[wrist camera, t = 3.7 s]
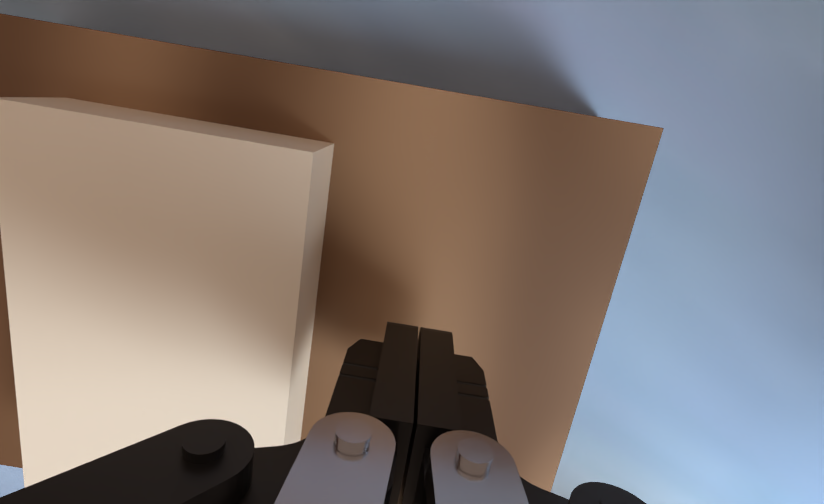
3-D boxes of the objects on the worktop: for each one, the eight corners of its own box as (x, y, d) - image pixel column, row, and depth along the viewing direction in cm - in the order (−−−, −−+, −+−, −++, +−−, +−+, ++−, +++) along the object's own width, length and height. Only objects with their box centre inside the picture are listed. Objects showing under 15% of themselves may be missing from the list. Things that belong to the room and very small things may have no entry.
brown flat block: (601, 120, 14) (663, 128, 10) (510, 454, 18) (531, 550, 14) (59, 27, 14) (-79, -1, 10) (77, 383, 18) (-21, 461, 14)
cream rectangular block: (334, 143, 11) (313, 152, 9) (296, 469, 14) (275, 529, 12) (66, 98, 11) (-13, 97, 9) (82, 434, 13) (25, 489, 12)
